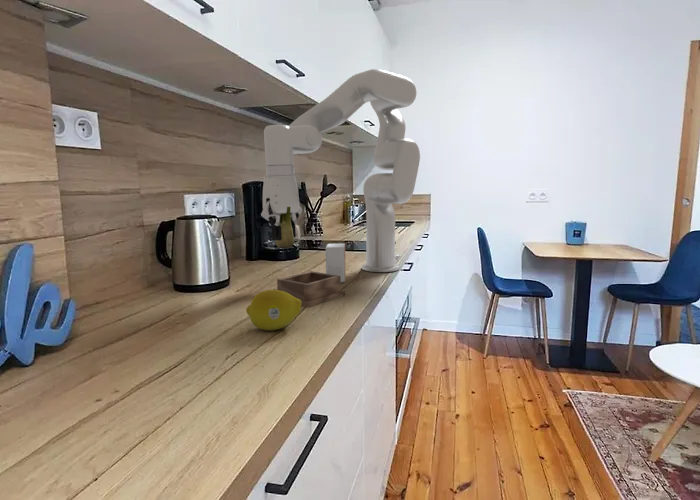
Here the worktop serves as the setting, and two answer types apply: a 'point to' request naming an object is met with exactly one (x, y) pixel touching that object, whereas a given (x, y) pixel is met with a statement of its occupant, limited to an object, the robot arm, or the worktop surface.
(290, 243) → the fennel bulb
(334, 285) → the open wooden box
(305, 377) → the worktop surface
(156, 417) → the worktop surface
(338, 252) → the small box
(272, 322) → the lemon
